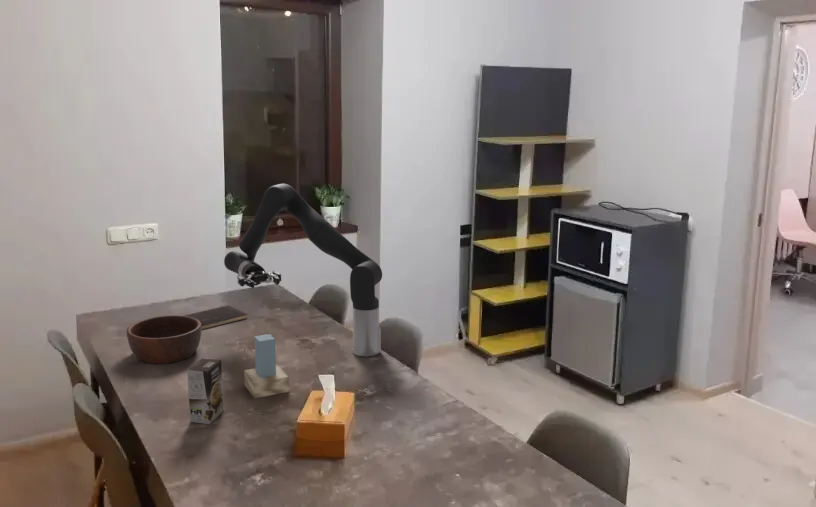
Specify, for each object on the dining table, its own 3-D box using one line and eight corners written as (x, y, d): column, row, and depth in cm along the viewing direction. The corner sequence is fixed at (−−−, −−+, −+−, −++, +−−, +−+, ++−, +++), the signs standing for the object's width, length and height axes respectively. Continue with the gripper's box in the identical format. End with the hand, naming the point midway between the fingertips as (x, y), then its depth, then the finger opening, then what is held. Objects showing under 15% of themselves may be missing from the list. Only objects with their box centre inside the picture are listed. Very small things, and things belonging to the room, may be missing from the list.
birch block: (277, 378, 231) (277, 364, 230) (288, 391, 221) (288, 376, 220) (244, 384, 226) (244, 370, 225) (254, 398, 216) (253, 383, 215)
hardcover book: (247, 319, 289) (247, 314, 288) (195, 332, 273) (195, 326, 273) (227, 310, 300) (227, 304, 299) (176, 322, 284) (176, 316, 284)
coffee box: (210, 424, 199) (207, 371, 196) (189, 422, 201) (186, 369, 197) (224, 410, 208) (222, 359, 204) (204, 408, 209) (201, 357, 206)
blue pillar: (271, 369, 226) (270, 333, 223) (276, 374, 221) (274, 338, 219) (255, 372, 223) (254, 336, 221) (260, 377, 219) (259, 341, 216)
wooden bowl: (201, 338, 266) (199, 312, 264) (204, 363, 243) (203, 334, 240) (130, 344, 258) (128, 318, 256) (126, 371, 235) (124, 342, 233)
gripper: (230, 264, 246) (244, 275, 232) (270, 259, 253) (285, 270, 239) (232, 285, 248) (245, 297, 234) (271, 280, 254) (286, 291, 240)
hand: (265, 283), depth 236 cm, fingers open, 8 cm apart
